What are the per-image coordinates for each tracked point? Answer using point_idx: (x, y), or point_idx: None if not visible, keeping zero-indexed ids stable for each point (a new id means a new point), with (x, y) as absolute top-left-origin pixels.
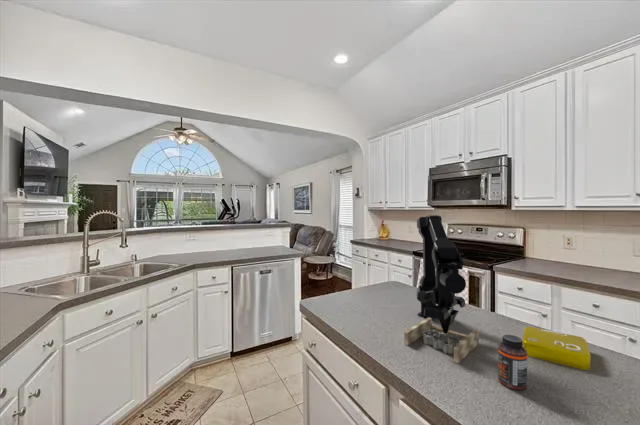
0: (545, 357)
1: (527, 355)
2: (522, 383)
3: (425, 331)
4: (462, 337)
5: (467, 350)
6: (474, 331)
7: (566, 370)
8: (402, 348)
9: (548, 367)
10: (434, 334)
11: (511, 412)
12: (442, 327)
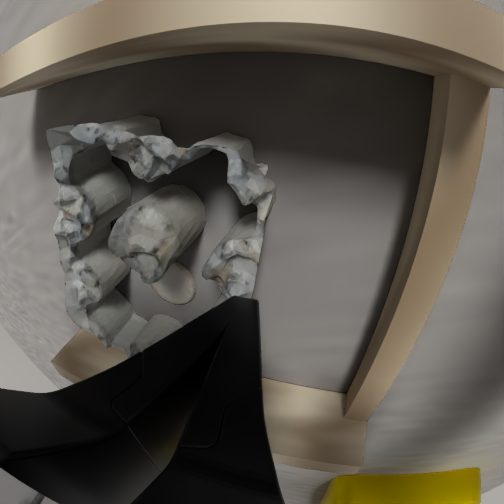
0: (325, 495)
1: (334, 478)
2: None
3: (102, 138)
4: (365, 368)
5: None
6: (329, 466)
7: (295, 494)
8: (13, 96)
9: (286, 485)
10: (124, 231)
11: (62, 387)
12: (190, 328)
